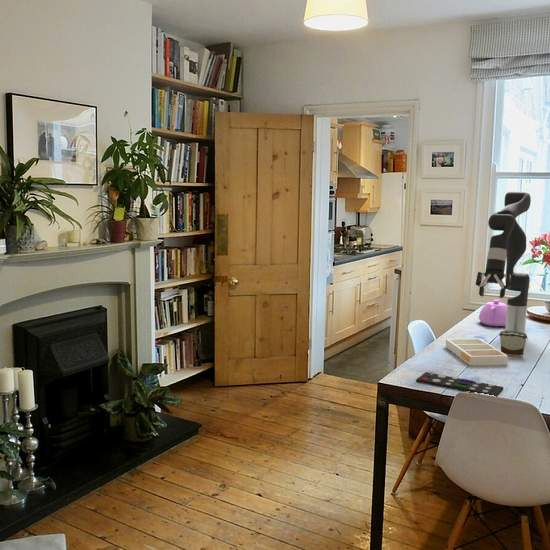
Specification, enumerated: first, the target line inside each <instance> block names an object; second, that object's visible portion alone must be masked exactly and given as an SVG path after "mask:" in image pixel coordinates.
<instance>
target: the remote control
mask: <svg viewBox="0 0 550 550" xmlns="http://www.w3.org/2000/svg"><path fill="white" fill-rule="evenodd" d="M415 382H416V383H421V384H427V385H430V384H431V385H430V386H436V387H441V388H445V387H446V388H445V389H450V388H451V390H455V389H457V390H456V391H461V392H465V391H470V392H477V393H484V394H489V395H494V396H497V397H498V396H499V395H500V393H501V392H502V391H504V386H502V385H501V386H500V385H496V384H495V385H494V384H492V383H487V382H485V383H484V382H480V381H475V380H471V379H467V378H459V377H457V376H454V377H453V376H448V375H444V374H439V373H433V372H428V371H426V372H424V373H423V374H422V375H420V376H419V377H417V378H416V379H415ZM470 392H469V393H470Z"/></svg>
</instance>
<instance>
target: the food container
mask: <svg viewBox="0 0 550 550" xmlns="http://www.w3.org/2000/svg"><path fill="white" fill-rule="evenodd" d="M498 337H499V339H500V340H499V342H500V343H499V344H500V351H501V352H502V353H504V354H506V355H509V354H511V355H510V356H517V355H522V356H521V357H523V356H524V352H525V347H526V342H527V340H528V334H527V333H526V332H525V333H523V332H519V331H505V330H501V331H500V332H499V334H498Z"/></svg>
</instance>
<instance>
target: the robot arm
mask: <svg viewBox="0 0 550 550" xmlns="http://www.w3.org/2000/svg"><path fill="white" fill-rule="evenodd" d="M531 199H532V197H531V194H530V193H529V192H528V191H527V192H525V191H507V192H506V193H505V195H504V207H502V209H501V210H499V211H496V212H494V213H492V215H490V217H489V218H488V227H489V228H490V230H492V231H502V232H501V233H500V234H495V235H491V237H490V242H489V247H488V248H489V249H488V252H487V257H486V264H485V265H486V266H485V271H484V272H481V271H477V275H476V279H475V280H476V281H475V286H477V287H479V290H478V294H479V296H480V297H482V298H483V297H484V294H485V287H486V286H487V285H489V284H496V285H497V284H498V285H499V286H500V289H499V290H500V291H499V298H500V299H504V298H505V296H506V290H507V291H511V292H512V291H513V292H519V293H520V294H517V295H516V296H512V297H508V299H507V304H506V305H507V314H506V324H505V326H504V329H505V330H504V331H519V332H523V333H525V334H526V323H527V309H528V299H529V287H530V282H531V281H530V280H531V278H530V275H529V274H528V273H522V272H514V269H515V267H516V265H517V263H518V262H519V261H520V259H521V258H522V257H523V255H524V254H525V252H526V251H527V236H526V233H525V231H524V230H523V229H522V227H521V225H520V224H519V223H518V221H517V217H519V216H520V215H522V214H524V213H525V212H528V211H529V209H530V206H531V202H532V200H531ZM483 278H484V279H483ZM504 278H505V283H504V281H503V279H504Z"/></svg>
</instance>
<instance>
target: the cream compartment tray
mask: <svg viewBox="0 0 550 550" xmlns="http://www.w3.org/2000/svg"><path fill="white" fill-rule="evenodd" d="M445 348H446V349H447V348H448V350H449V351H450V350H451V351H452V353H453V354H454V353H455V354H456V356H457V358H459V357H460V358H459V359H461V361H463V360H464V363H466V364H467V363H468V364H467V365H469V366H470V365H473V366H508V361H509V355H508V354H504V353H502V352H501V350H499V349H498V348H496V347H494V346H493V345H491V344H490V343H488V342H486V341H485V340H483V339H482V338H446V339H445ZM455 354H454V355H455Z"/></svg>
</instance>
